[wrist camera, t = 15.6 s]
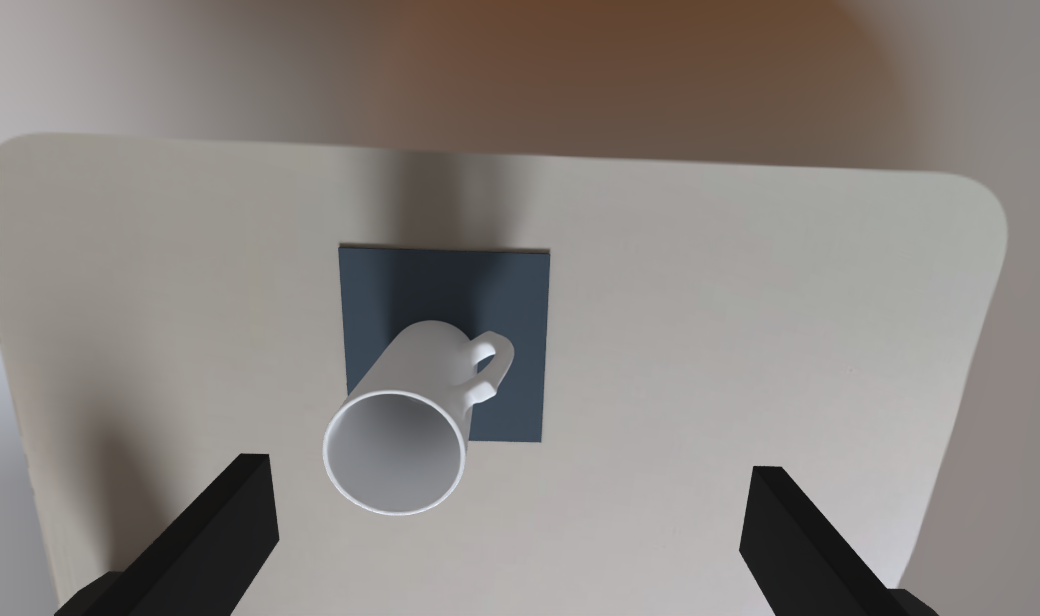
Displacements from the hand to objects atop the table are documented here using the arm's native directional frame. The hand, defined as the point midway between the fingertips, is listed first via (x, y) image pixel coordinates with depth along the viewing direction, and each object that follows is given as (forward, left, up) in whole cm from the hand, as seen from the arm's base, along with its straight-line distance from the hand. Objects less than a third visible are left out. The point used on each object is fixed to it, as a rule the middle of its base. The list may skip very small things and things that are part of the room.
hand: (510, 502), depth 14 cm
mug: (+4, +4, -22) cm, 22 cm away
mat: (+5, +4, -22) cm, 22 cm away
